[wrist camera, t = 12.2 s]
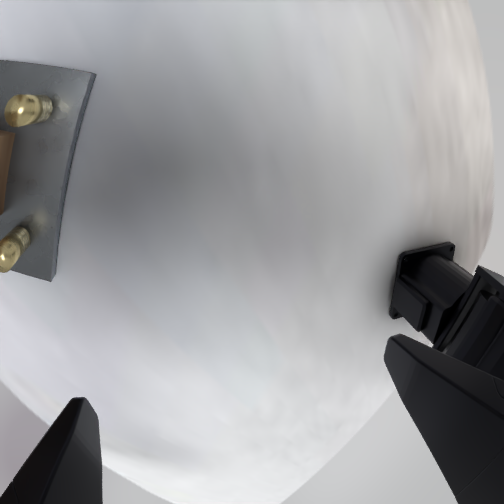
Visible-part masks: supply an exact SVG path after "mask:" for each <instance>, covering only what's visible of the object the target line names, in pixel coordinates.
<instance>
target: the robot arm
mask: <svg viewBox="0 0 504 504" xmlns="http://www.w3.org/2000/svg"><path fill="white" fill-rule="evenodd" d="M454 251H455V245H454V244H453V243H451V242H449V243H444V244H440V245H435V246H431V247H426V248H422V249H417V250H412V251H408V252H404V253H402V254H401V255H400V257H399V261H398V267H397V274H396V280H395V286H394V292H393V297H392V303H391V308H390V313H389V315H390V317H391V318H392V319H397V318H400V317H404V318H405V319H406V320H407V321H408V322H409V323H410V324H411V325H412V327H413V328H414V329H415V330H416V331H418V332H419V331H421V332H422V333H423V334H424V335H425V336H426V337H427V338H428V339H429V340H430V341H431V343H432V344H433V347H432V348H431V347H429V346H427V345H425V344H422V343H420V342H418V341H416V340H414V339H412V338H410V337H407V336H405V335H403V334H397V335H394V336H391V337H390V338H389V339H388V341H387V345H386V349H385V354H384V362H385V364H386V367H387V369H388V371H389V373H390V375H391V378H392V380H393V382H394V384H395V387H396V389H397V391H398V393H399V396H400V398H401V400H402V402H403V404H404V405H405V407H406V409H407V410H408V412H409V414H410V416H411V417H412V419H413V421H414V423H415V424H416V426H417V428H418V429H419V431H420V433H421V435H422V437H423V439H424V440H425V442H426V444H427V446H428V447H429V449H430V451H431V453H432V455H433V457H434V458H435V460H436V462H437V464H438V466H439V468H440V469H441V471H442V473H443V475H444V477H445V479H446V481H447V482H448V485H449V486H450V488H451V490H452V492H453V494H454V496H455V498H456V500H457V502H458V504H504V277H503V276H501V275H499V274H497V273H495V272H492V271H491V270H488V269H486V268H484V267H482V266H479V265H478V266H477V268H476V270H475V272H476V273H475V275H474V276H473V275H472V274H470V273H469V272H468V271H466V270H465V269H463V268H462V267H461V266H459V265H458V264H456V263H455V262H454V261H453V256H454ZM404 259H405V260H404ZM0 504H103V502H102V458H101V447H100V435H99V420H98V416H97V414H96V412H95V411H94V409H93V408H92V406H91V404H90V403H89V401H88V400H87V399H86V398H85V397H75V398H72V399H71V400H70V401H69V403H68V404H67V405H66V407H65V408H64V409H63V411H62V412H61V413H60V415H59V416H58V417H57V419H56V420H55V421H54V423H53V424H52V425H51V427H50V428H49V429H48V431H47V432H46V433H45V435H44V436H43V438H42V439H41V440H40V442H39V443H38V445H37V446H36V447H35V449H34V450H33V452H32V453H31V454H30V456H29V457H28V459H27V460H26V461H25V463H24V464H23V466H22V467H21V469H20V470H19V471H18V473H17V474H16V476H15V477H14V479H13V481H12V482H11V483H10V484H9V486H8V487H7V489H6V490H5V492H4V493H3V494H2V496H1V497H0Z"/></svg>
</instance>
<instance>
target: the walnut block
mask: <svg viewBox="0 0 504 504" xmlns="http://www.w3.org/2000/svg"><path fill="white" fill-rule="evenodd" d="M14 138H15V133H12V132H8V131H3V130H0V215H2V214H3V211H4V201H5V192H6V184H7V177H8V171H9V164H10V158H11V153H12V148H13V143H14Z"/></svg>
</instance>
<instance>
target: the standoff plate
mask: <svg viewBox="0 0 504 504" xmlns="http://www.w3.org/2000/svg"><path fill="white" fill-rule="evenodd" d="M95 76H96V74H94V73H90V72H85V71H79V70H74V69H68V68H62V67H55V66H48V65H41V64H33V63H25V62H15V61H4V60H0V130H3V131H8V132H12V133H15V138H14V143H13V148H12V153H11V158H10V164H9V171H8V177H7V184H6V192H5V201H4V211H3V214H2V215H0V272H2V273H5V272H8V271H9V270H12V271H15V272H19V273H22V274H25V275H29V276H32V277H36V278H39V279H42V280H46V281H50V282H51V281H52V280H53V278H54V276H55V274H56V261H57V251H58V241H59V233H60V225H61V218H62V211H63V204H64V198H65V193H66V187H67V182H68V176H69V172H70V167H71V162H72V157H73V153H74V149H75V145H76V140H77V136H78V133H79V129H80V125H81V121H82V118H83V114H84V111H85V107H86V104H87V101H88V97H89V94H90V91H91V88H92V85H93V82H94V79H95Z"/></svg>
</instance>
